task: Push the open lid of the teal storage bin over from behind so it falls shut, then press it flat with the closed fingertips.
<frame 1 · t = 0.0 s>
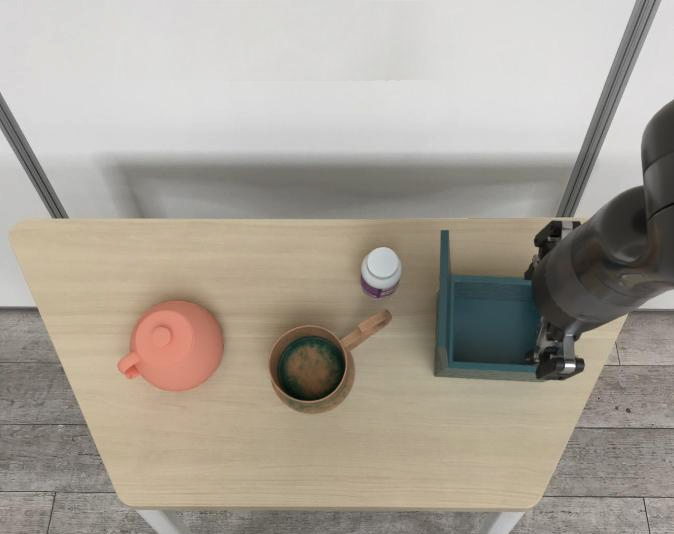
hand: (533, 316, 64), 21 cm above the table, tool pointing down, fingers open, 8 cm apart
lid: (445, 305, 67), point 18 cm above the table, hinge at 100.0°
pill bottle: (379, 282, 86), on the table
sugar bowl: (178, 352, 85), on the table
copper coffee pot: (331, 360, 85), on the table
teal storage bin: (489, 337, 85), on the table
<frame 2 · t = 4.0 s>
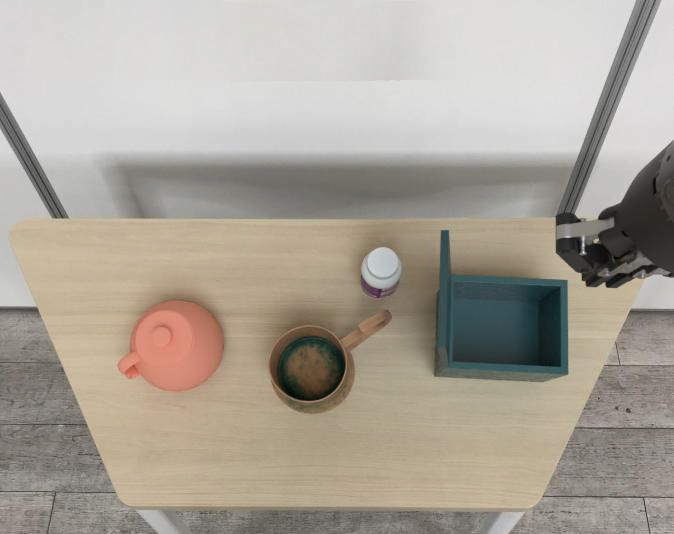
hand: (599, 275, 48), 37 cm above the table, tool pointing down, fingers closed
nothing on the table moved.
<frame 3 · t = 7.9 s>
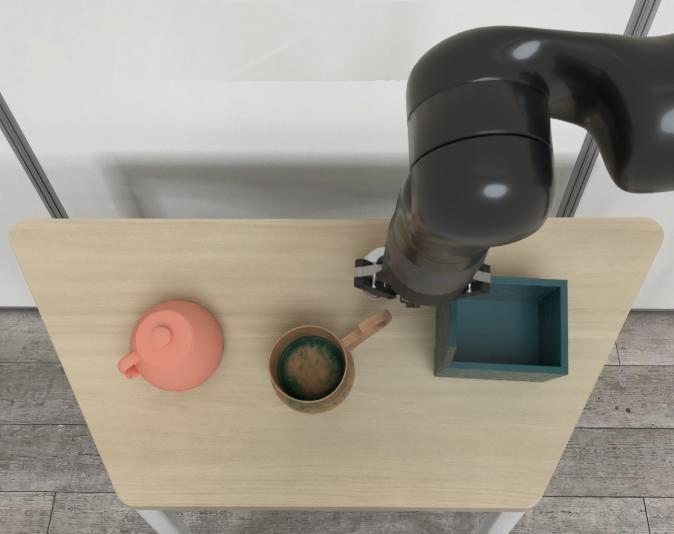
hand: (412, 298, 64), 21 cm above the table, tool pointing down, fingers closed
lid: (450, 305, 67), point 18 cm above the table, hinge at 96.3°, touching gripper, hand
everything else where it was.
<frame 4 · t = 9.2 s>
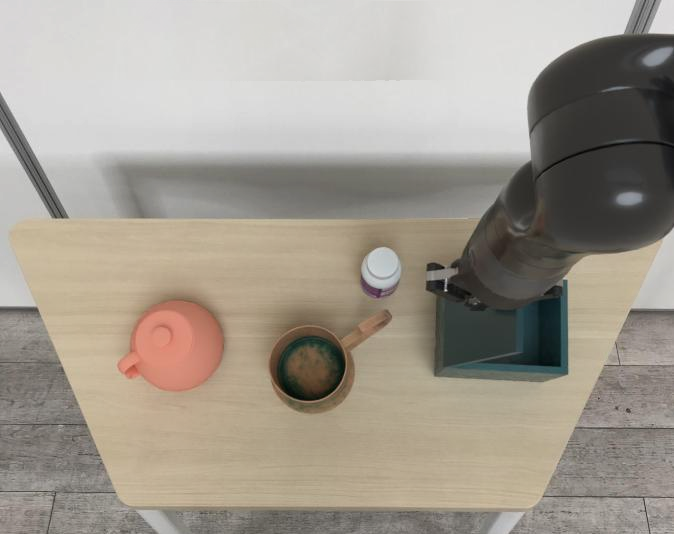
hand: (475, 301, 64), 21 cm above the table, tool pointing down, fingers closed
lid: (479, 307, 67), point 18 cm above the table, hinge at 71.9°
everything else where it was.
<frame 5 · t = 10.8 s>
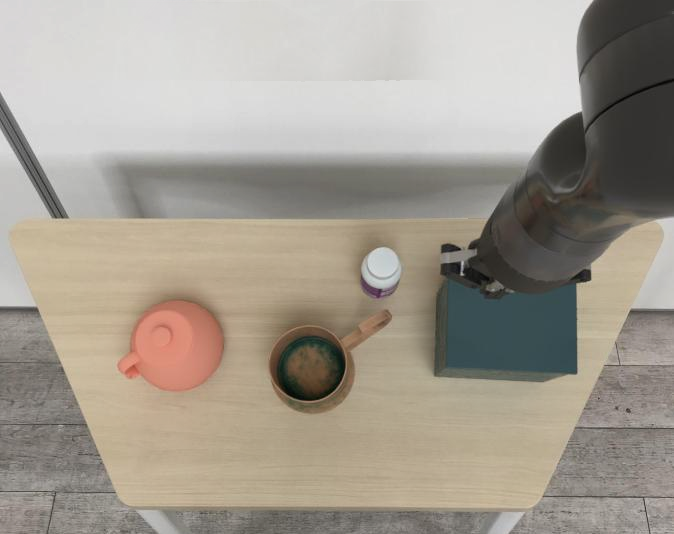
hand: (491, 288, 59), 26 cm above the table, tool pointing down, fingers closed
lid: (511, 323, 74), point 10 cm above the table, hinge at -0.2°
everything else where it was.
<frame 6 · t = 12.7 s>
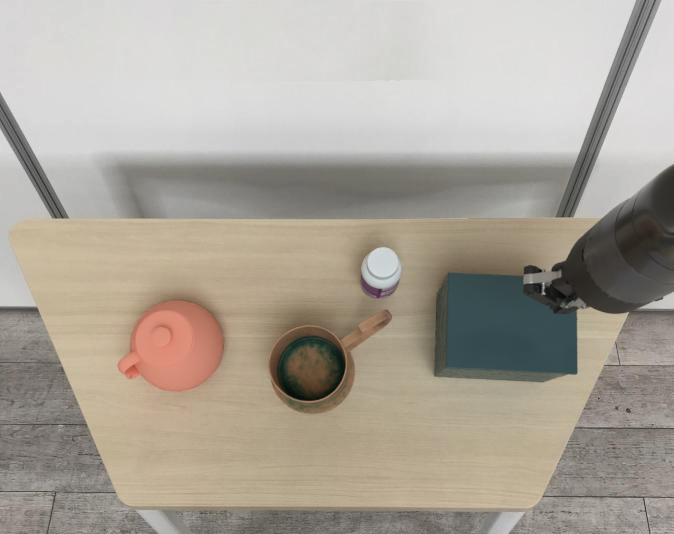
hand: (559, 304, 64), 21 cm above the table, tool pointing down, fingers closed
nothing on the table moved.
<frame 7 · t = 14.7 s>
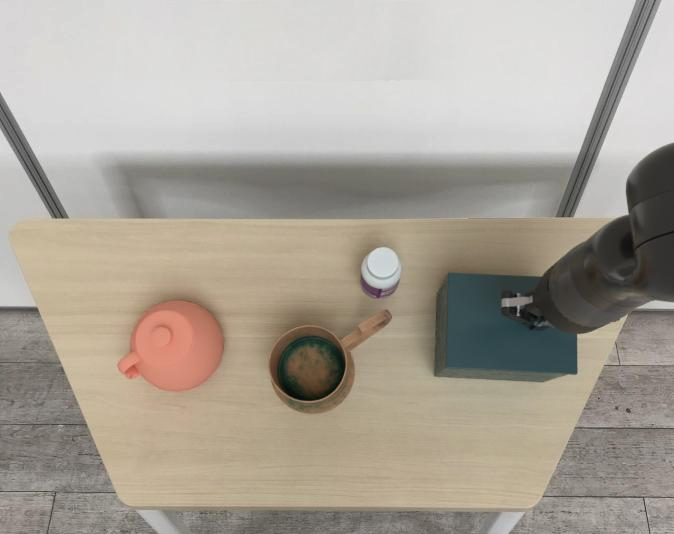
hand: (535, 322, 73), 11 cm above the table, tool pointing down, fingers closed
nothing on the table moved.
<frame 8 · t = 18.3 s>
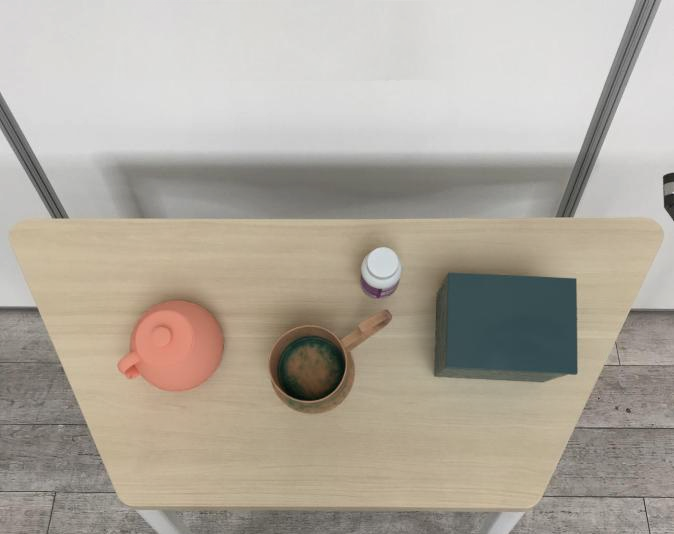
nothing on the table moved.
at the end: lid at +0° (first picture: +100°) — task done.
